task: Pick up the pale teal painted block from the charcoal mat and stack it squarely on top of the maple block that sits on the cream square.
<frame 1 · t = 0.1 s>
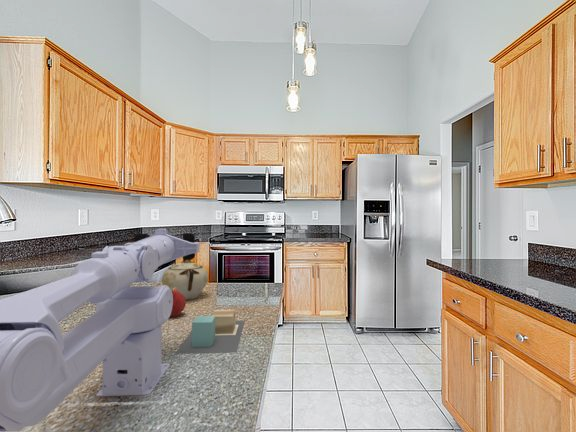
hand: (175, 241, 70), 22 cm above the counter, tool horizontal, fingers open, 7 cm apart
teal block: (204, 342, 64), resting on mat
maple block: (223, 329, 71), point 1 cm above the counter, touching mat
mat: (214, 337, 68), on the counter
cream rounded vessel: (185, 297, 102), on the counter
onion: (174, 318, 81), on the counter
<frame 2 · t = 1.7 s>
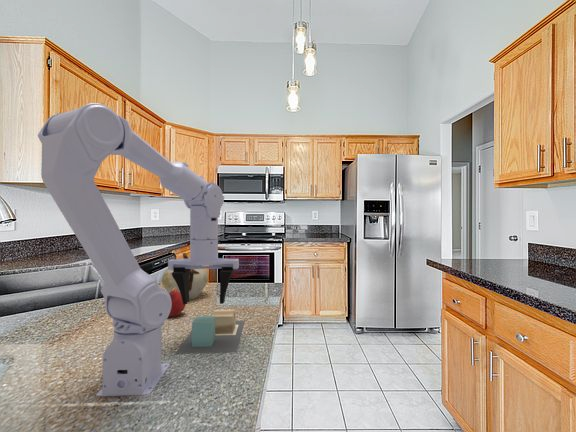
hand: (204, 302, 64), 9 cm above the counter, tool pointing down, fingers open, 7 cm apart
nothing on the counter moved.
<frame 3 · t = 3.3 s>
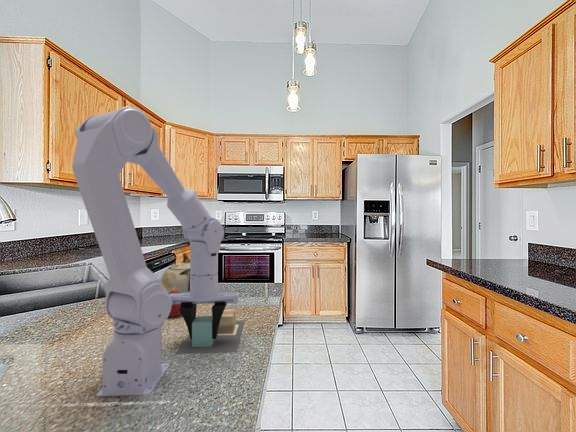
hand: (204, 337, 64), 2 cm above the counter, tool pointing down, fingers closed on teal block, 4 cm apart
teal block: (204, 342, 64), resting on mat, touching gripper
everything else where it was.
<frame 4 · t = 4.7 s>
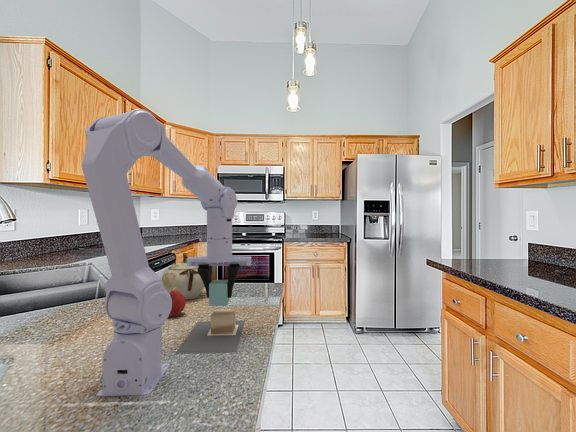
hand: (219, 296, 70), 9 cm above the counter, tool pointing down, fingers closed on teal block, 4 cm apart
teal block: (219, 303, 70), point 7 cm above the counter, touching gripper
everything else where it was.
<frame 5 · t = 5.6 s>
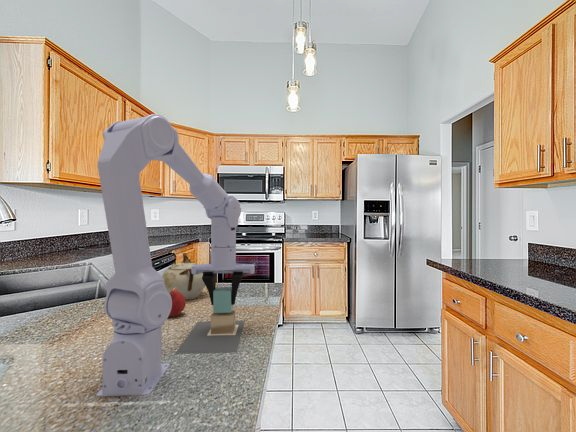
hand: (223, 303, 71), 7 cm above the counter, tool pointing down, fingers closed on teal block, 4 cm apart
teal block: (223, 310, 71), point 5 cm above the counter, touching gripper
everything else where it was.
when the fingers open (7 cm above the counter, at t = 6.1 s): teal block stays where it is, resting on maple block.
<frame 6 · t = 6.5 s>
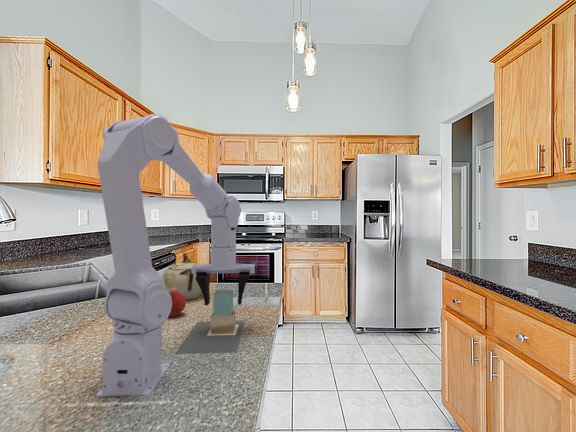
hand: (223, 303, 71), 7 cm above the counter, tool pointing down, fingers open, 7 cm apart
teal block: (223, 313, 71), point 5 cm above the counter, touching maple block
maple block: (223, 329, 71), point 1 cm above the counter, touching mat, teal block
everything else where it was.
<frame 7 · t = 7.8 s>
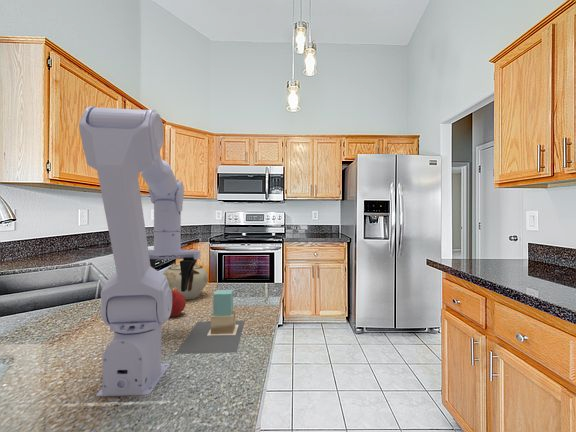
hand: (167, 290, 69), 10 cm above the counter, tool pointing down, fingers open, 7 cm apart
nothing on the counter moved.
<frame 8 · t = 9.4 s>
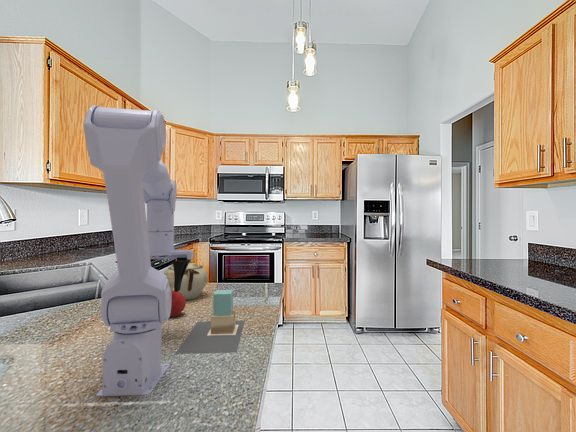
hand: (160, 291, 68), 10 cm above the counter, tool pointing down, fingers open, 7 cm apart
nothing on the counter moved.
at the end: teal block 0.0 cm off-centre on the maple block, point 4.0 cm above the maple block's base; teal block tilted 0°; the gripper is holding nothing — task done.
